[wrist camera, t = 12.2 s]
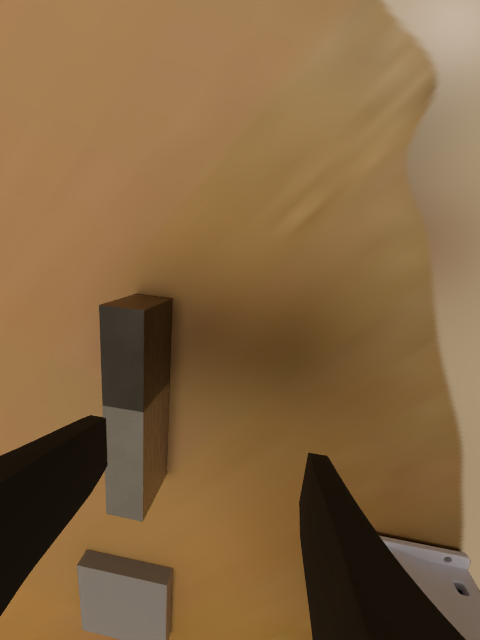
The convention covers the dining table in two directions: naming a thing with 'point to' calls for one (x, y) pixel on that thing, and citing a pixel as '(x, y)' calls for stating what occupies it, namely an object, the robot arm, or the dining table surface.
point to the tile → (124, 597)
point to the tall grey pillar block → (135, 400)
